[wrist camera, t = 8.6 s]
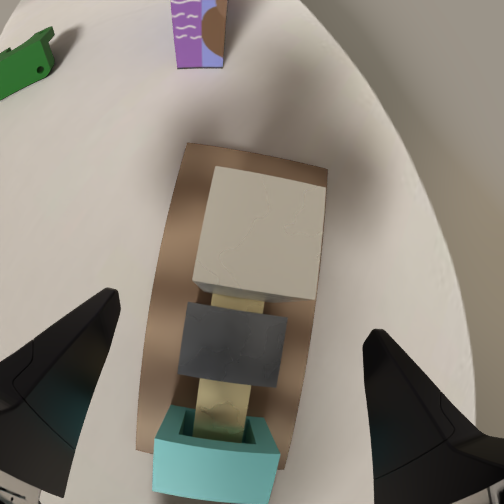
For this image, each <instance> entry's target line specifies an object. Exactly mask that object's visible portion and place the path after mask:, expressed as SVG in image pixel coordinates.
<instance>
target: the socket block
mask: <svg viewBox="0 0 504 504" xmlns="http://www.w3.org/2000/svg"><path fill="white" fill-rule="evenodd" d="M195 411H196V409H191V408H186V407H180V406H175V405H170V407H169V409H168V411H167V413H166V415H165V417H164V420H163V422H162V424H161V426H160V428H159V430H158V432H157V434H156V436H155V439H154V456H153V483H152V491H156V492H160V493H165V494H170V495H175V496H180V497H186V498H192V499H199V500H207V501H216V502H226V503H240V504H268V502H269V498H270V494H271V491H272V487H273V483H274V479H275V475H276V471H277V467H278V463H279V459H280V452H279V450H278V448H277V445H276V443H275V441H274V439H273V437H272V434H271V432H270V430H269V428H268V425H267V423H266V421H265V419H264V418H262V417H251V416H246V420H245V426H244V432H243V437H242V443H234V442H225V441H217V440H210V439H203V438H196V437H192V436H193V428H194V419H195Z"/></svg>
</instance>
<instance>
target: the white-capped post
mask: <svg viewBox="0 0 504 504" xmlns="http://www.w3.org/2000/svg"><path fill="white" fill-rule="evenodd" d="M325 195H326V188H325V187H321V186H316V185H312V184H308V183H303V182H299V181H294V180H289V179H285V178H280V177H275V176H270V175H265V174H259V173H254V172H249V171H243V170H237V169H232V168H226V167H220V166H215V170H214V174H213V179H212V183H211V188H210V192H209V197H208V201H207V206H206V211H205V216H204V220H203V225H202V230H201V235H200V240H199V246H198V251H197V256H196V262H195V267H194V273H193V278H192V281H193V282H194V283H195V284H196V285H197V286H198V287H199V288H201V289H202V290H203V291H204V292H208V293H213V295H212V301H211V306H215V307H221V308H227V309H233V310H240V311H246V312H253V313H260V314H263V309H264V302H270V303H280V302H295V301H308V300H315V298H316V290H317V281H318V273H319V264H320V254H321V244H322V234H323V222H324V209H325ZM250 391H251V385H244V384H236V383H228V382H221V381H215V380H208V379H202V378H200V381H199V388H198V396H197V404H196V411H195V419H194V428H193V436H192V437H196V438H203V439H210V440H217V441H225V442H234V443H242V437H243V432H244V426H245V420H246V414H247V409H248V403H249V397H250Z"/></svg>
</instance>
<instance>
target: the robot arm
mask: <svg viewBox="0 0 504 504" xmlns="http://www.w3.org/2000/svg"><path fill="white" fill-rule="evenodd" d="M120 310H121V307H120V300H119V294H118V291H117V290H116V289H112V288H105V289H103V290H102V291H100V292H99V293H97V294H96V295H94V296H93V297H91V298H90V299H88V300H87V301H85V302H84V303H83V304H81V305H80V306H78V307H77V308H75V309H74V310H73V311H71V312H70V313H68V314H67V315H65V316H64V317H63V318H61V319H60V320H58V321H57V322H56V323H54V324H53V325H52V326H50V327H49V328H47V329H46V330H45V331H43V332H42V333H41V334H39V335H38V336H37V337H35V338H34V339H33V340H31V341H30V342H28V343H27V344H26V345H24V346H23V347H22V348H20V349H19V350H17V351H16V352H15V353H13V354H12V355H10V356H9V357H7V358H5V359H4V360H2V361H1V362H0V504H41V503H40V501H39V498H40V493H41V490H43V491H45V492H48V493H51V494H53V495H56V496H58V497H61V498H64V495H65V490H66V486H67V481H68V477H69V473H70V469H71V465H72V461H73V458H74V454H75V450H76V446H77V443H78V439H79V436H80V433H81V429H82V426H83V423H84V420H85V417H86V414H87V411H88V408H89V405H90V402H91V399H92V396H93V393H94V390H95V387H96V385H97V382H98V379H99V376H100V374H101V371H102V368H103V366H104V363H105V361H106V358H107V355H108V353H109V350H110V346H111V343H112V339H113V336H114V332H115V328H116V325H117V322H118V318H119V315H120ZM363 367H364V385H365V393H366V401H367V409H368V417H369V427H370V437H371V448H372V461H373V477H374V504H504V438H498V437H492V436H488V435H486V434H484V433H482V432H481V431H479V430H478V429H477V428H476V427H475V426H474V425H473V424H472V423H471V422H470V421H469V420H468V419H467V418H466V417H465V416H464V415H463V414H462V413H461V412H460V411H459V410H458V409H457V408H456V407H455V406H454V405H453V404H452V403H451V402H450V401H449V400H448V398H447V397H446V396H445V395H444V394H443V393H442V392H440V390H439V388H438V387H437V386H436V385H435V384H434V383H433V382H432V381H431V380H430V378H429V377H428V376H427V375H426V374H425V373H424V372H423V371H422V370H421V369H420V367H419V366H418V365H417V364H416V363H415V362H414V361H413V360H412V359H411V358H410V357H409V356H408V354H407V353H406V352H405V351H404V350H403V349H402V348H401V347H400V346H399V345H398V344H397V343H396V342H395V341H394V340H393V339H392V337H391V336H390V335H389V334H388V333H387V332H386V331H385V330H383V329H373V330H372V331H371V333H370V334H369V336H368V337H367V339H366V340H365V342H364V344H363Z"/></svg>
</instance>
